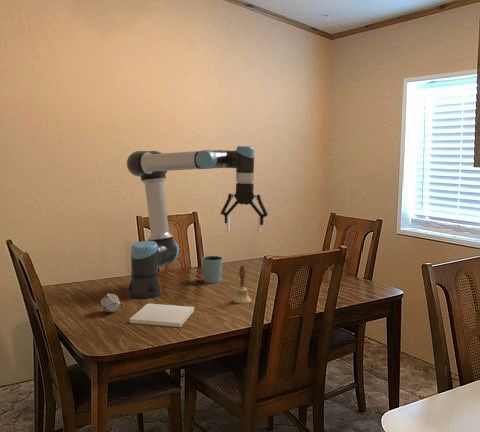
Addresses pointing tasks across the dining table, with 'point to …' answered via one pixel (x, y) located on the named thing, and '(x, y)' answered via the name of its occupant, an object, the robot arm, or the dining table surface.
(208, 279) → the blue cup
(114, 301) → the game die
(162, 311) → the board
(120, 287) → the dining table surface
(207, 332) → the dining table surface
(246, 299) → the hand bell
